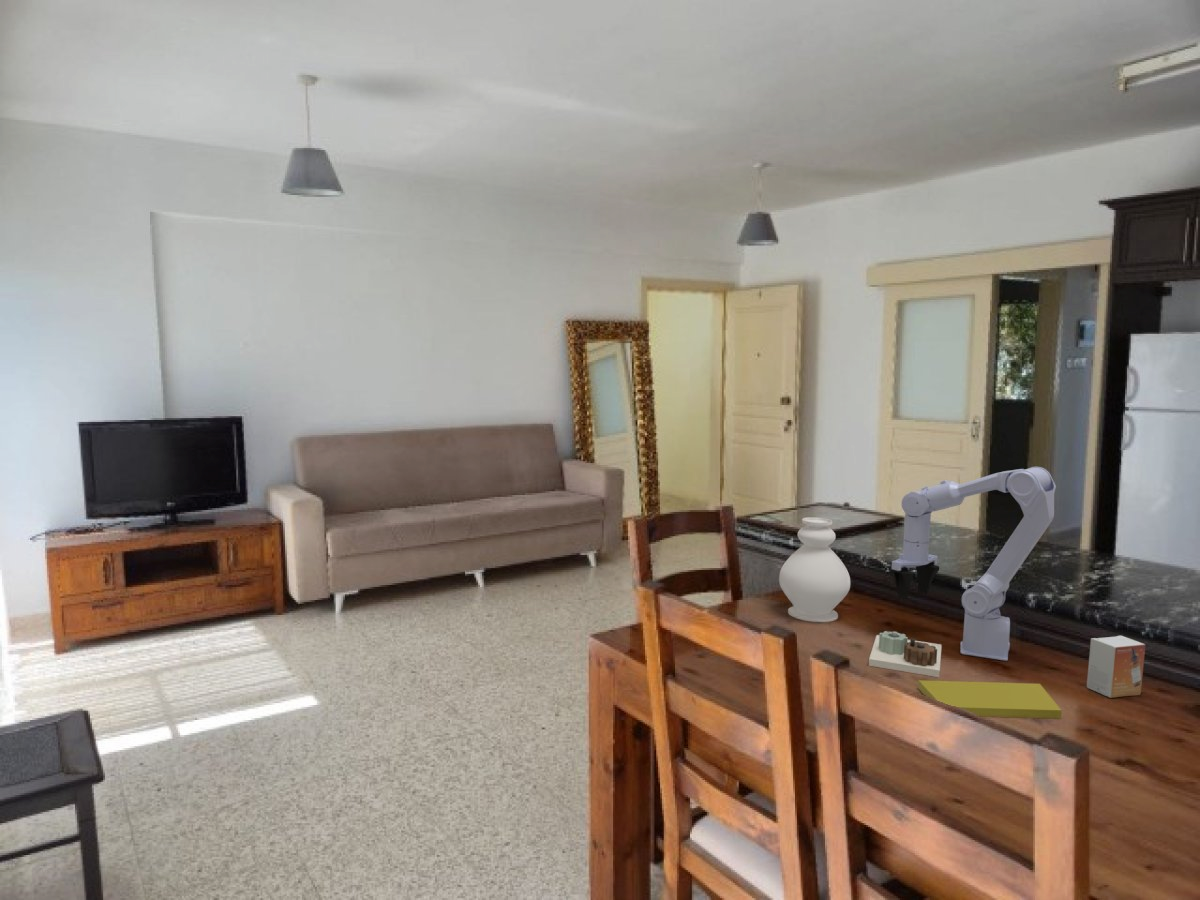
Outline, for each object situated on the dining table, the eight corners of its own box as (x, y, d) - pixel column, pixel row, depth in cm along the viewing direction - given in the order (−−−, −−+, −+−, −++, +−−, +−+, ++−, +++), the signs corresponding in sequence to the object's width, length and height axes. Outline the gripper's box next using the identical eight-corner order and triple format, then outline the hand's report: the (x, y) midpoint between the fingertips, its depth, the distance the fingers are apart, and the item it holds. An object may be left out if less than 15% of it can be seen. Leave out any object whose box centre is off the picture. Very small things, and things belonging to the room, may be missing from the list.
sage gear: (908, 648, 174) (909, 634, 174) (904, 656, 169) (905, 641, 169) (881, 643, 177) (881, 629, 176) (876, 651, 172) (877, 637, 171)
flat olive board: (942, 718, 144) (1073, 721, 143) (943, 706, 144) (1074, 710, 143) (917, 690, 156) (1039, 694, 156) (918, 680, 156) (1039, 683, 155)
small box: (1110, 699, 152) (1114, 647, 151) (1085, 687, 158) (1089, 637, 157) (1141, 695, 155) (1146, 644, 154) (1116, 684, 160) (1121, 634, 159)
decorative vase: (765, 606, 208) (768, 515, 205) (822, 601, 213) (827, 512, 211) (801, 628, 191) (805, 528, 189) (863, 622, 197) (868, 525, 194)
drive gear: (936, 657, 169) (938, 637, 168) (935, 668, 163) (937, 647, 162) (904, 652, 171) (905, 633, 171) (902, 662, 165) (904, 642, 165)
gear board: (941, 650, 177) (942, 627, 177) (939, 677, 162) (940, 651, 161) (876, 641, 183) (877, 618, 182) (868, 665, 168) (870, 641, 167)
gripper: (921, 534, 193) (918, 587, 195) (882, 540, 186) (879, 595, 187) (946, 540, 187) (943, 594, 189) (907, 546, 180) (904, 603, 181)
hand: (913, 595), depth 188 cm, fingers open, 7 cm apart
